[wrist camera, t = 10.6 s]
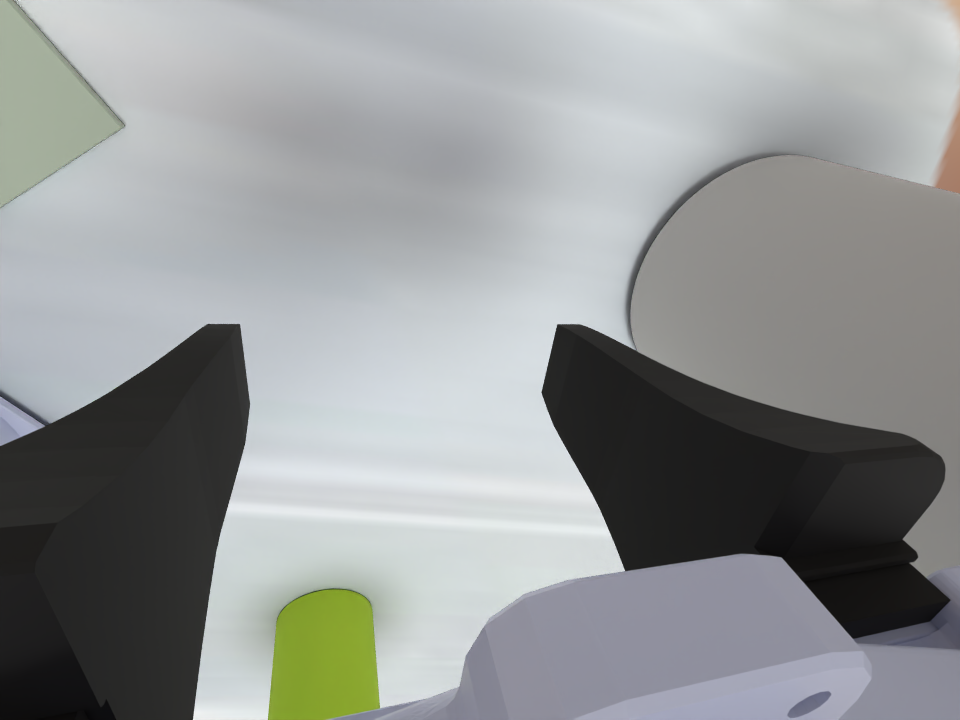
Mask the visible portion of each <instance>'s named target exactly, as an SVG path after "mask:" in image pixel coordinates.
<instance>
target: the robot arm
mask: <svg viewBox="0 0 960 720" xmlns="http://www.w3.org/2000/svg"><path fill="white" fill-rule="evenodd" d="M542 395H543V398H544V401H545V404H546V407H547V410H548V412H549V415H550V417H551V420H552V422H553V425H554V427H555V429H556V431H557V432H558V434H559V436H560V438H561V440H562V441H563V443H564V445H565V447H566V449H567V450H568V452H569V454H570V456H571V458H572V459H573V461H574V463H575V465H576V466H577V468H578V470H579V472H580V473H581V475H582V477H583V479H584V480H585V482H586V484H587V486H588V487H589V489H590V491H591V493H592V494H593V496H594V498H595V500H596V502H597V504H598V506H599V508H600V510H601V513H602V515H603V517H604V520H605V522H606V524H607V527H608V529H609V531H610V534H611V536H612V538H613V541H614V543H615V546H616V548H617V551H618V553H619V556H620V559H621V561H622V564H623V566H624V569H625V571H624V572H618V573H611V574H605V575H598V576H591V577H585V578H578V579H572V580H567V581H563V582H560V583H557V584H554V585H551V586H548V587H545V588H541V589H538V590H535V591H532V592H529V593H526V594H524V595H522V596H521V597H519V598H518V599H517V600H515V601H514V602H512V603H511V604H509V605H508V606H506V607H505V608H504V609H502V610H501V611H499V612H498V613H496V614H495V615H493V616H492V617H491V618H489V620H488V621H487V623H486V624H485V626H484V628H483V629H482V631H481V632H480V634H479V636H478V637H477V639H476V641H475V642H474V644H473V645H472V647H471V649H470V650H469V652H468V654H467V655H466V658H465V663H464V668H463V673H462V677H461V682H460V686H459V687H457V688H454V689H451V690H449V691H446V692H444V693H441V694H438V695H436V696H433V697H431V698H428V699H423V700H419V701H414V702H409V703H404V704H399V705H394V706H389V707H385V708H380V709H375V710H370V711H365V712H360V713H355V714H351V715H346V716H341V717H336V718H331V719H326V720H960V565H959V566H954V567H949V568H943V569H941V570H938V571H935V572H934V573H932V574H930V575H929V576H927V577H925V576H924V575H922V574H921V573H920V572H919V571H918V570H917V569H916V568H915V567H914V566H912V565H911V564H910V563H912V562H915V561H916V560H917V558H918V554H917V552H916V551H915V550H914V549H913V548H912V547H911V546H910V545H908V544H907V543H906V542H905V541H904V540H903V538H904V537H905V536H906V534H907V533H908V532H909V531H910V530H911V528H912V527H913V526H914V525H915V523H916V522H917V521H918V520H919V518H920V517H921V516H922V515H923V514H924V512H925V511H926V510H927V509H928V507H929V506H930V505H931V504H932V502H933V501H934V499H935V498H936V496H937V495H938V493H939V492H940V490H941V488H942V485H943V483H944V481H945V471H946V468H945V463H944V461H943V459H942V457H941V456H940V455H939V454H937V453H936V452H934V451H933V450H931V449H930V448H928V447H927V446H926V445H924V444H923V443H921V442H920V441H918V440H917V439H915V438H912V437H910V436H908V435H905V434H902V433H896V432H890V431H884V430H878V429H873V428H867V427H861V426H855V425H849V424H844V423H839V422H834V421H830V420H825V419H821V418H816V417H812V416H808V415H803V414H799V413H795V412H792V411H788V410H784V409H780V408H777V407H773V406H770V405H767V404H763V403H760V402H757V401H754V400H750V399H747V398H744V397H741V396H738V395H735V394H732V393H730V392H727V391H724V390H722V389H719V388H716V387H714V386H711V385H708V384H706V383H703V382H701V381H698V380H696V379H694V378H691V377H689V376H687V375H685V374H683V373H680V372H678V371H676V370H674V369H672V368H669V367H667V366H665V365H663V364H661V363H659V362H657V361H655V360H653V359H651V358H649V357H647V356H645V355H643V354H641V353H639V352H637V351H635V350H633V349H631V348H629V347H628V346H626V345H624V344H622V343H620V342H618V341H616V340H614V339H612V338H610V337H608V336H606V335H604V334H602V333H600V332H598V331H595V330H593V329H591V328H588V327H586V326H583V325H580V324H557V328H556V332H555V337H554V341H553V345H552V350H551V354H550V358H549V363H548V367H547V371H546V376H545V380H544V384H543V389H542ZM249 408H250V401H249V393H248V385H247V377H246V369H245V360H244V352H243V344H242V336H241V328H240V324H207V325H206V326H204V327H202V328H201V329H200V330H198V331H197V332H195V333H194V334H193V335H191V336H190V337H189V338H187V339H186V340H185V341H183V342H182V343H181V344H179V345H178V346H177V347H175V348H174V349H173V350H171V351H170V352H169V353H167V354H166V355H164V356H163V357H162V358H160V359H159V360H158V361H156V362H155V363H153V364H152V365H151V366H149V367H148V368H146V369H145V370H143V371H142V372H140V373H139V374H137V375H135V376H134V377H132V378H131V379H129V380H128V381H126V382H125V383H123V384H122V385H120V386H118V387H117V388H115V389H114V390H112V391H111V392H109V393H107V394H106V395H104V396H102V397H101V398H99V399H97V400H95V401H94V402H92V403H90V404H88V405H86V406H85V407H83V408H81V409H79V410H77V411H75V412H73V413H71V414H69V415H67V416H65V417H63V418H61V419H59V420H57V421H55V422H53V423H51V424H49V425H47V426H44V425H43V424H41V423H40V422H38V421H37V420H35V419H34V418H32V417H31V416H29V415H28V414H26V413H25V412H23V411H22V410H20V409H19V408H17V407H15V406H14V405H12V404H11V403H9V402H8V401H6V400H5V399H3V398H2V397H0V720H193V714H194V706H195V698H196V690H197V682H198V674H199V666H200V658H201V650H202V643H203V636H204V629H205V622H206V615H207V608H208V600H209V594H210V588H211V581H212V575H213V568H214V562H215V556H216V550H217V546H218V542H219V537H220V533H221V529H222V525H223V522H224V518H225V515H226V511H227V507H228V504H229V500H230V497H231V493H232V490H233V486H234V482H235V479H236V475H237V472H238V468H239V464H240V461H241V457H242V453H243V449H244V446H245V441H246V433H247V425H248V417H249Z"/></svg>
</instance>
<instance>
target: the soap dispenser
mask: <svg viewBox="0 0 960 720" xmlns="http://www.w3.org/2000/svg"><path fill="white" fill-rule="evenodd" d="M375 709H380V703H379V690H378V677H377V664H376V651H375V638H374V625H373V612H372V606H371V604H370V602H369V601H368V600H367V599H366V598H365V597H364V596H362V595H360V594H358V593H356V592H352V591H348V590H341V589H330V590H322V591H317V592H313V593H310V594H307V595H304V596H302V597H300V598H298V599H296V600H294V601H293V602H291V603H290V604H288V605H287V606H286V607H285V608H284V609H283V610H282V612H281V613H280V615H279V616H278V619H277V623H276V634H275V645H274V657H273V668H272V679H271V690H270V702H269V713H268V720H326V719H331V718H336V717H341V716H346V715H351V714H355V713H360V712H365V711H370V710H375Z"/></svg>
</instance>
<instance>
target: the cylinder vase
mask: <svg viewBox="0 0 960 720" xmlns="http://www.w3.org/2000/svg"><path fill="white" fill-rule="evenodd" d="M630 317H631V330H632V335H633V340H634V343H635V346H636V348H637V351H638V352H639V353H641V354H643V355H645V356H647V357H649V358H651V359H653V360H655V361H657V362H659V363H661V364H663V365H665V366H667V367H669V368H672V369H674V370H676V371H678V372H680V373H683V374H685V375H687V376H689V377H691V378H694V379H696V380H698V381H701V382H703V383H706V384H708V385H711V386H714V387H716V388H719V389H722V390H724V391H727V392H730V393H732V394H735V395H738V396H741V397H744V398H747V399H750V400H754V401H757V402H760V403H763V404H767V405H770V406H773V407H777V408H780V409H784V410H788V411H792V412H795V413H799V414H803V415H808V416H812V417H816V418H821V419H825V420H830V421H834V422H839V423H844V424H849V425H855V426H861V427H867V428H873V429H878V430H884V431H890V432H896V433H902V434H905V435H908V436H910V437H912V438H915V439H917V440H918V441H920V442H921V443H923V444H924V445H926V446H927V447H928V448H930V449H931V450H933V451H934V452H936V453H937V454H939V455H940V456H941V457H942V459H943V461H944V463H945V468H946V471H945V481H944V483H943V485H942V488H941V490H940V492H939V493H938V495H937V496H936V498H935V499H934V501H933V502H932V504H931V505H930V506H929V507H928V509H927V510H926V511H925V512H924V514H923V515H922V516H921V517H920V518H919V520H918V521H917V522H916V523H915V525H914V526H913V527H912V528H911V530H910V531H909V532H908V533H907V534H906V536H905V537H904V538H903V540H904V541H905V542H906V543H907V544H908V545H910V546H911V547H912V548H913V549H914V550H915V551H916V552H917V554H918V558H917V560H916V561H915V562H912V563H910V564H911V565H912V566H914V567H915V568H916V569H917V570H918V571H919V572H920V573H921V574H922V575H924V576H925V577H927V576H929V575H930V574H932V573H934V572H935V571H938V570H941V569H943V568H949V567H954V566H959V565H960V194H959V193H955V192H951V191H947V190H943V189H939V188H935V187H931V186H926V185H922V184H918V183H914V182H910V181H906V180H902V179H898V178H894V177H890V176H886V175H882V174H878V173H873V172H869V171H865V170H861V169H857V168H853V167H849V166H845V165H841V164H837V163H833V162H829V161H825V160H820V159H816V158H812V157H807V156H801V155H780V156H772V157H766V158H762V159H758V160H755V161H752V162H749V163H746V164H743V165H741V166H739V167H736V168H734V169H732V170H730V171H728V172H726V173H724V174H723V175H721V176H719V177H717V178H716V179H714V180H713V181H711V182H710V183H708V184H707V185H705V186H704V187H703V188H701V189H700V190H699V191H698V192H696V193H695V194H694V195H693V196H692V197H691V198H689V199H688V200H687V201H686V202H685V203H684V204H683V205H682V206H681V207H680V208H679V209H678V210H677V211H676V212H675V214H674V215H673V216H672V217H671V218H670V219H669V221H668V222H667V223H666V224H665V226H664V227H663V228H662V230H661V231H660V232H659V234H658V235H657V237H656V238H655V240H654V242H653V243H652V245H651V247H650V249H649V250H648V252H647V254H646V256H645V258H644V260H643V263H642V265H641V267H640V270H639V273H638V276H637V279H636V282H635V286H634V290H633V294H632V301H631V314H630Z"/></svg>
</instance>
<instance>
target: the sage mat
mask: <svg viewBox="0 0 960 720" xmlns="http://www.w3.org/2000/svg"><path fill="white" fill-rule="evenodd" d="M123 127H125V126H124V124H123V123H122V122H121V121H120V120H119V119H118V118H117V117H116V115H115V114H114V113H113V112H112V111H111V110H110V109H109V108H108V106H107V105H106V104H105V103H104V102H103V101H102V100H101V99H100V97H99V96H98V95H97V94H96V93H95V92H94V91H93V90H92V88H91V87H90V86H89V85H88V84H87V83H86V82H85V81H84V79H83V78H82V77H81V76H80V75H79V74H78V73H77V72H76V70H75V69H74V68H73V67H72V66H71V65H70V64H69V63H68V61H67V60H66V59H65V58H64V57H63V56H62V55H61V54H60V52H59V51H58V50H57V49H56V48H55V47H54V46H53V45H52V43H51V42H50V41H49V40H48V39H47V38H46V37H45V36H44V34H43V33H42V32H41V31H40V30H39V29H38V28H37V27H36V25H35V24H34V23H33V22H32V21H31V20H30V19H29V18H28V16H27V15H26V14H25V13H24V12H23V11H22V10H21V9H20V7H19V6H18V5H17V4H16V3H15V2H14V1H13V0H0V208H1V207H2V206H4V205H5V204H7V203H9V202H10V201H12V200H13V199H15V198H16V197H18V196H19V195H21V194H22V193H24V192H25V191H27V190H28V189H30V188H31V187H33V186H35V185H36V184H38V183H39V182H41V181H42V180H44V179H45V178H47V177H48V176H50V175H51V174H53V173H54V172H56V171H58V170H59V169H61V168H62V167H64V166H65V165H67V164H68V163H70V162H71V161H73V160H74V159H76V158H77V157H79V156H80V155H82V154H84V153H85V152H87V151H88V150H90V149H91V148H93V147H94V146H96V145H97V144H99V143H100V142H102V141H103V140H105V139H106V138H108V137H110V136H111V135H113V134H114V133H116V132H117V131H119V130H120V129H122V128H123Z"/></svg>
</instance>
